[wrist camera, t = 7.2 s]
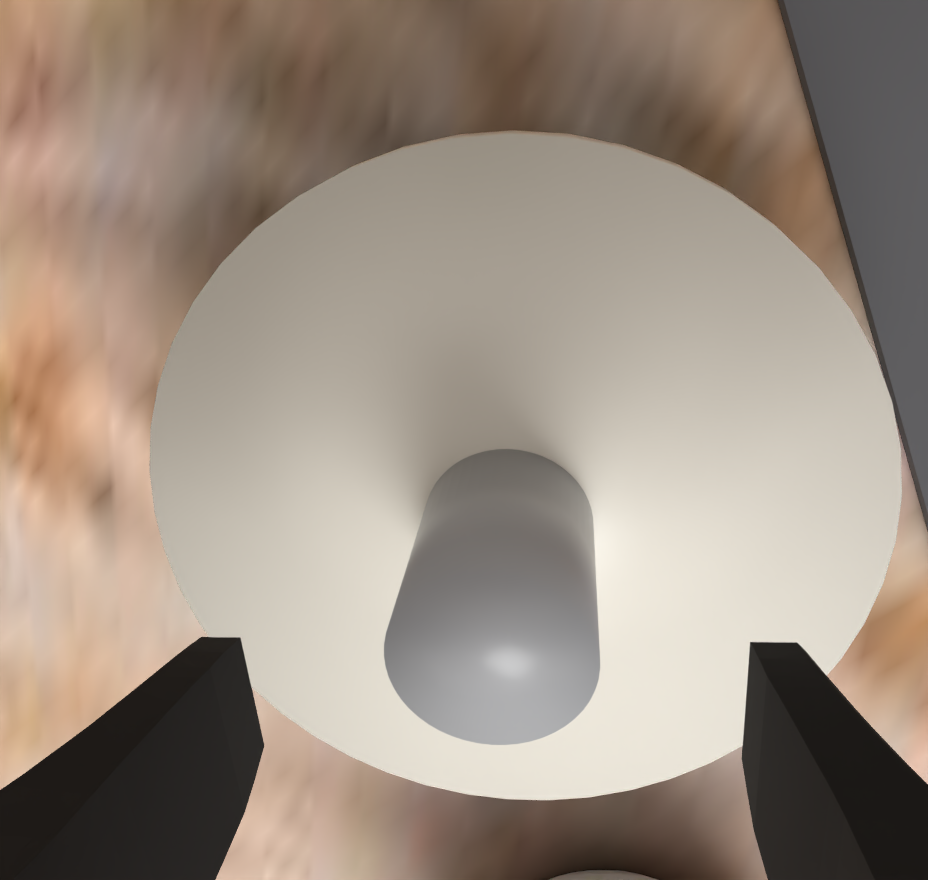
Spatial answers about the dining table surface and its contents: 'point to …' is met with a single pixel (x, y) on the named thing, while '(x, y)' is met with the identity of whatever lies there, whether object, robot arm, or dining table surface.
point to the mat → (877, 177)
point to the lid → (523, 463)
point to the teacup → (602, 875)
